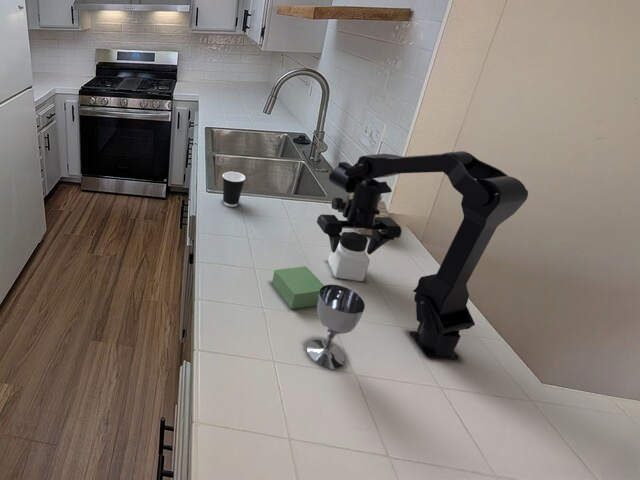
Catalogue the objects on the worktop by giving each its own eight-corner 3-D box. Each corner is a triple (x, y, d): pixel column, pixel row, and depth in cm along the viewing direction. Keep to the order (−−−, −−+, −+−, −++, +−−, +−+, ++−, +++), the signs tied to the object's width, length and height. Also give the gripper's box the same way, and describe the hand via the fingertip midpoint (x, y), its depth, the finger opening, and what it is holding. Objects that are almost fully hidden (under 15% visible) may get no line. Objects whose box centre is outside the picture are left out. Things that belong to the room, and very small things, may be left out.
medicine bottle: (363, 282, 101) (375, 244, 97) (334, 278, 103) (344, 240, 98) (354, 265, 108) (365, 228, 103) (327, 261, 109) (336, 225, 104)
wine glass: (323, 374, 76) (340, 317, 70) (296, 342, 83) (310, 288, 77) (355, 365, 78) (375, 309, 72) (327, 335, 85) (342, 281, 79)
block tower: (348, 198, 146) (355, 235, 121) (353, 178, 143) (362, 211, 118) (372, 202, 143) (384, 241, 118) (378, 181, 140) (391, 217, 115)
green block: (324, 304, 94) (328, 289, 92) (291, 309, 92) (294, 294, 90) (302, 279, 102) (305, 266, 100) (271, 283, 100) (274, 269, 99)
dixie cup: (243, 209, 136) (247, 181, 132) (220, 208, 137) (224, 180, 132) (239, 198, 143) (243, 172, 139) (218, 197, 144) (221, 171, 140)
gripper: (386, 188, 103) (371, 237, 109) (315, 185, 105) (304, 234, 111) (411, 209, 93) (393, 261, 99) (332, 205, 94) (319, 257, 100)
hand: (350, 252), depth 103 cm, fingers open, 9 cm apart
